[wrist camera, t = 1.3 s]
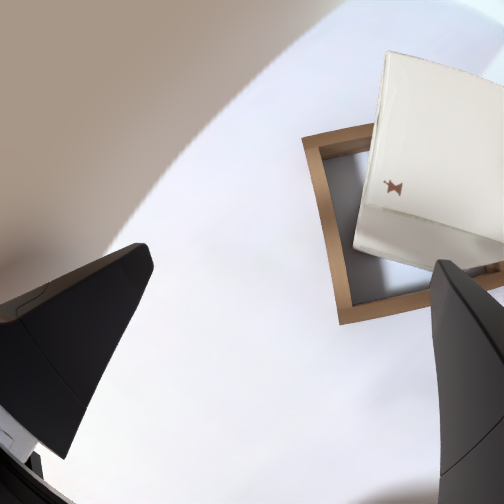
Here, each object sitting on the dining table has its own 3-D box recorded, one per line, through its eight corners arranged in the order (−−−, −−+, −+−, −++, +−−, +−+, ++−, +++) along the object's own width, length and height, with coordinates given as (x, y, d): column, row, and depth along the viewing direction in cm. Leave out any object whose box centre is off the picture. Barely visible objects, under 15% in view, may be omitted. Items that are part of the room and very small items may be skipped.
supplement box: (442, 277, 20) (536, 263, 8) (349, 250, 22) (353, 205, 10) (459, 182, 20) (534, 97, 8) (370, 157, 22) (381, 44, 10)
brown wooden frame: (498, 283, 18) (513, 282, 16) (340, 321, 22) (339, 325, 19) (454, 125, 20) (462, 110, 18) (306, 151, 24) (301, 137, 21)
